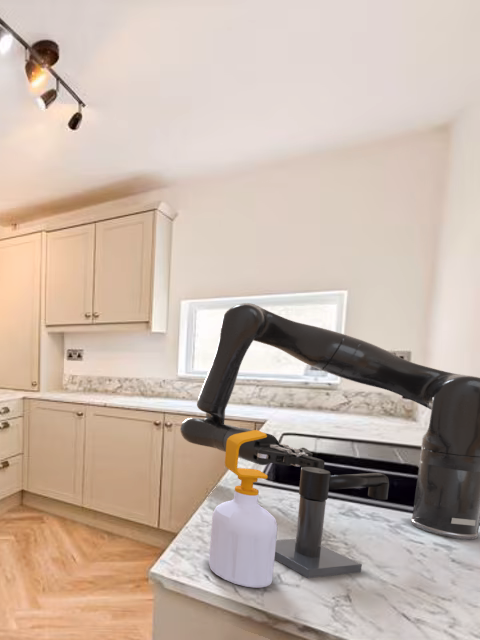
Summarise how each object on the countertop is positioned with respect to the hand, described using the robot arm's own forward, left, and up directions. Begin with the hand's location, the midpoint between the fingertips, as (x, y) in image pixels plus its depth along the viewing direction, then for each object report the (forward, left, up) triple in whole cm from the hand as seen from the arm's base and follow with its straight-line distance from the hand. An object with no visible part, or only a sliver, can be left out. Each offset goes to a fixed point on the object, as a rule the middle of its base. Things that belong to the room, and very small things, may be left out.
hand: (321, 465), depth 86 cm
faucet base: (+12, +9, -15) cm, 21 cm away
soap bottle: (+28, +11, -15) cm, 33 cm away
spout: (+5, +9, -3) cm, 11 cm away
